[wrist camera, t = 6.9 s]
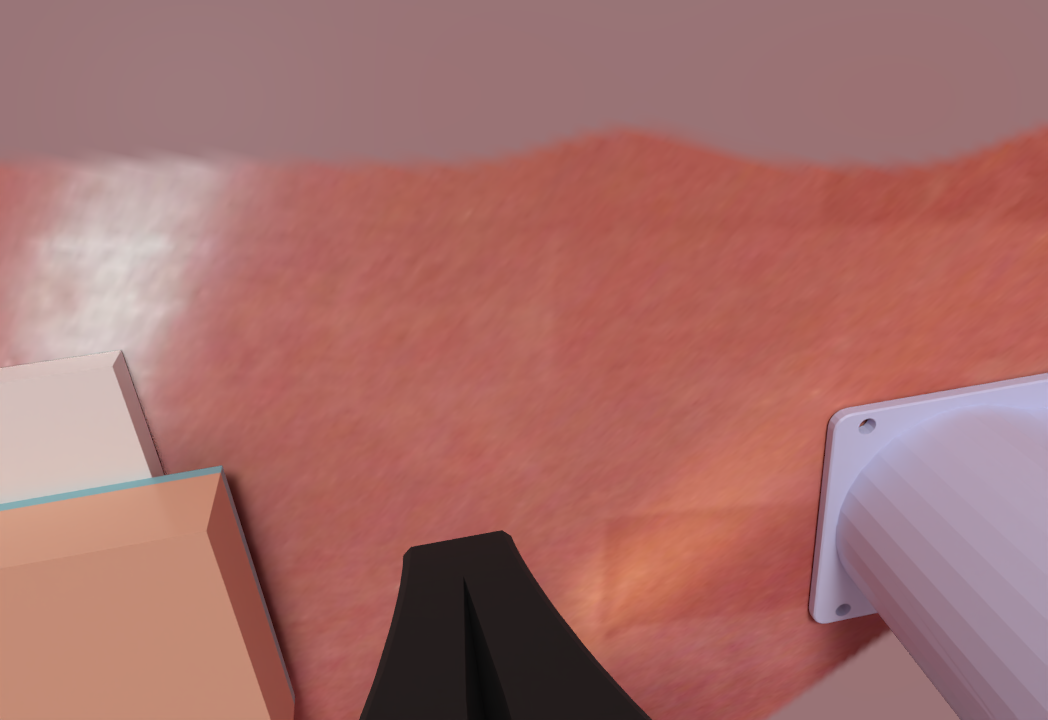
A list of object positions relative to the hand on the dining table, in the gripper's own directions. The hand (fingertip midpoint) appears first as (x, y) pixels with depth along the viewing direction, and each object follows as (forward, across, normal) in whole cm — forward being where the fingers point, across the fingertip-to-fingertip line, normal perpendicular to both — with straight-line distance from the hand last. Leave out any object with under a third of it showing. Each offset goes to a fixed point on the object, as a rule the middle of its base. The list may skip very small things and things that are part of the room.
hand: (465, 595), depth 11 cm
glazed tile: (+8, +5, +7) cm, 12 cm away
